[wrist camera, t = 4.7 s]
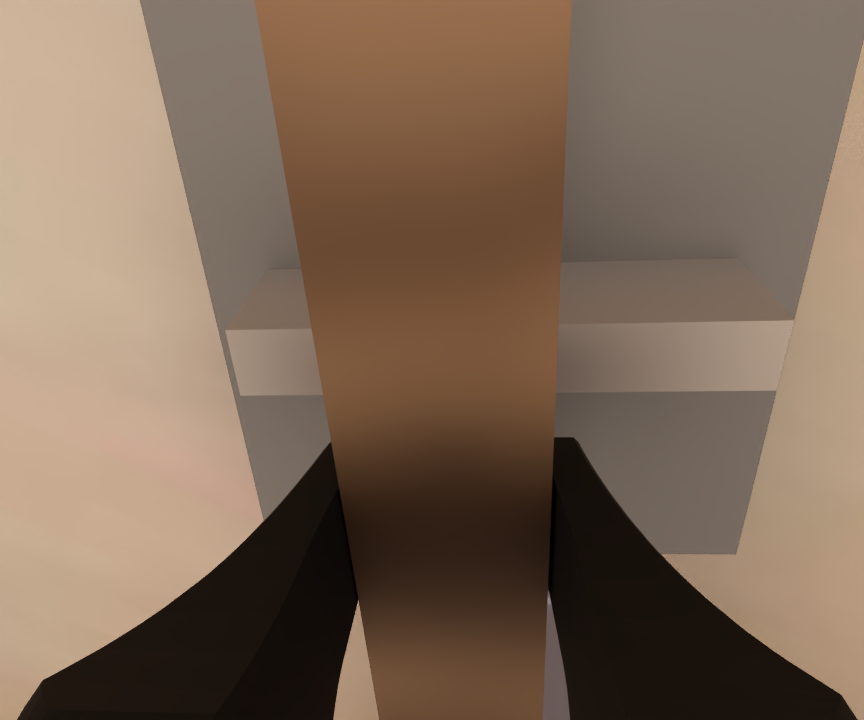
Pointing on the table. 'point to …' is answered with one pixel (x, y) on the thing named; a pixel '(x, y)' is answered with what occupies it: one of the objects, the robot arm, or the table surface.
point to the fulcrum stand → (569, 237)
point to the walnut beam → (434, 321)
